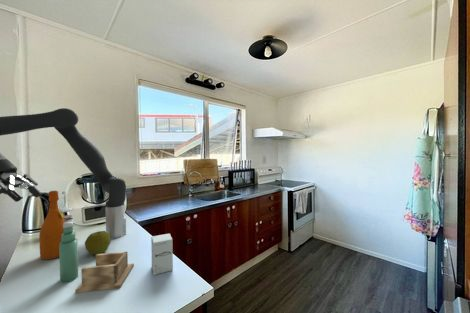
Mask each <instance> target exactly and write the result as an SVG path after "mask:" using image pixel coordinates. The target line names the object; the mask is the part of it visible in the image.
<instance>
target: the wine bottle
mask: <svg viewBox="0 0 470 313" xmlns="http://www.w3.org/2000/svg"><path fill="white" fill-rule="evenodd" d="M59 198H60V197H59V191H58V190H50V191H49V192H48V201H49V206H48V207H49V208H48V212H47V215H46V216H45V219H44V221H43V223H42V224H41V227H40V230H39V238H38V239H39V242H38V244H39V255H40V256H39V257H40V259H42V260H53V259H57V258H60V252H59V243H60V242H61V234H63V233H64V228H63V223H65V221H66V220H64V217H65V216H66V215H65V216H64V212H62V211H61V212H59V210H60V209H61V208H59V204H58V201H59V200H60V199H59Z"/></svg>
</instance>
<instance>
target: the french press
mask: <svg viewBox="0 0 470 313" xmlns="http://www.w3.org/2000/svg"><path fill="white" fill-rule="evenodd" d="M61 194H63V195H65V194H67V192H66V191H62V192H61ZM59 209H60V210H59V212H61V211H62V212H63V214H64V216H65V217H64V220H65V222H69V221H73V222H74V220H73V215H71V214H69V215H67V214H66V215H65V213H68V212H71V211H73V209H74V208H71V207H67V206H65V205H63V207H61V208H59ZM73 231H75V232H76V230H74V229H73Z"/></svg>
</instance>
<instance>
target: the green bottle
mask: <svg viewBox="0 0 470 313" xmlns="http://www.w3.org/2000/svg"><path fill="white" fill-rule="evenodd" d="M63 228H64V233H63V234H61V242H60V243H59V252H60V257H59V283H61V284H66V283H70V282H72V281H74V280H76V279H77V278H78V277H79V263H78V262H79V258H78V257H79V254H78V253H79V252H78V251H79V250H78V238H76V230H75V231H73V230H74V220H73V221H69V222H65V223H63Z"/></svg>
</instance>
